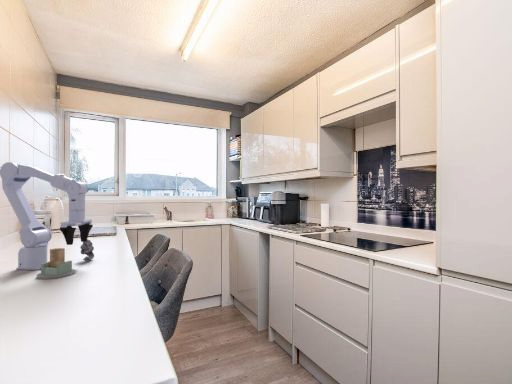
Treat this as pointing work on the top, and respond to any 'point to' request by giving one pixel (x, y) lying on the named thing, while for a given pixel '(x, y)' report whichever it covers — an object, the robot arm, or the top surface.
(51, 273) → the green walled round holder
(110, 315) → the top surface
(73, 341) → the top surface
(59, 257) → the tan wooden block
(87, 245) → the grey lumpy tree figurine
